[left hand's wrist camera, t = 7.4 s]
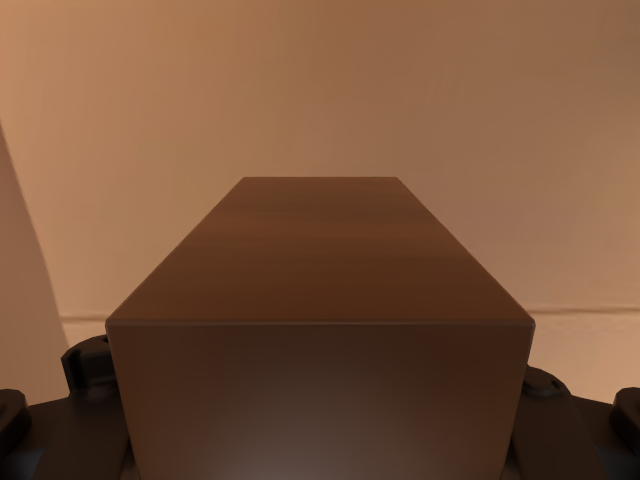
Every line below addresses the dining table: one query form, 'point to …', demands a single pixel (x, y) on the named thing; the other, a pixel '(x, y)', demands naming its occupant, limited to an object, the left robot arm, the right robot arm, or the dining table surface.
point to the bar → (320, 343)
